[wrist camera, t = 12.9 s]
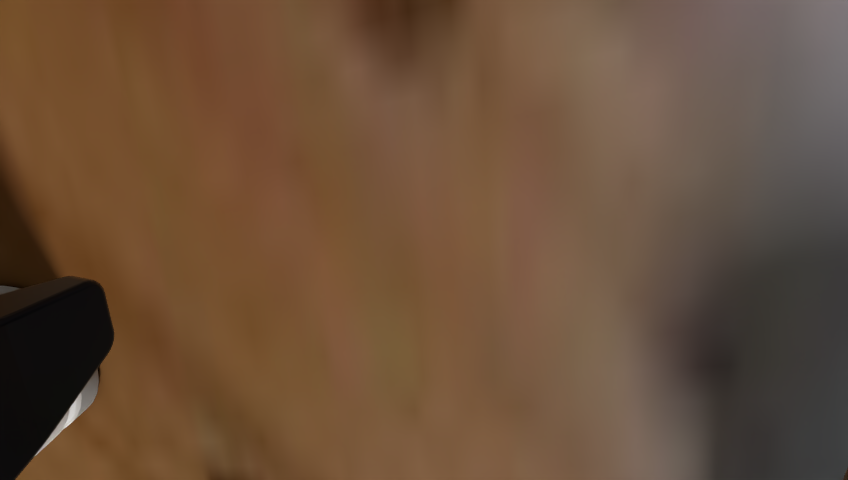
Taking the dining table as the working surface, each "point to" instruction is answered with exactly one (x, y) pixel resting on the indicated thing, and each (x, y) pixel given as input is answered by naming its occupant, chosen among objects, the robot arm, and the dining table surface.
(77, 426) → the dining table surface
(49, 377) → the robot arm
